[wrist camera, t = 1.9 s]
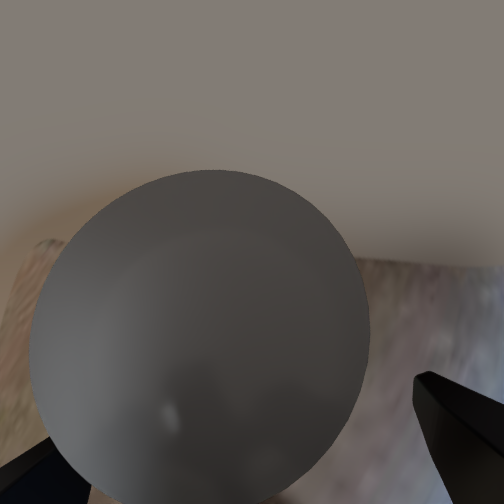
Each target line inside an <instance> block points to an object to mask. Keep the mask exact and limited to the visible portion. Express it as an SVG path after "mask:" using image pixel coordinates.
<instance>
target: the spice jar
mask: <svg viewBox="0 0 504 504" xmlns="http://www.w3.org/2000/svg"><path fill="white" fill-rule="evenodd" d="M369 343H370V321H369V307H368V302H367V297H366V293H365V288H364V284H363V280H362V277H361V275H360V272H359V269H358V267H357V264H356V262H355V259H354V257H353V255H352V254H351V252H350V250H349V248H348V246H347V245H346V243H345V241H344V240H343V238H342V237H341V235H340V234H339V233H338V231H337V230H336V229H335V228H334V226H333V225H332V224H331V222H330V221H329V220H328V219H327V218H326V217H325V216H324V215H323V214H322V213H321V212H320V211H319V210H318V209H317V208H316V207H315V206H313V205H312V204H311V203H310V202H308V201H307V200H305V199H304V198H303V197H301V196H300V195H298V194H297V193H295V192H294V191H291V190H290V189H288V188H286V187H284V186H282V185H280V184H278V183H276V182H273V181H271V180H268V179H265V178H262V177H259V176H256V175H251V174H247V173H242V172H236V171H226V170H200V171H192V172H184V173H179V174H175V175H171V176H167V177H163V178H160V179H157V180H155V181H152V182H149V183H146V184H144V185H142V186H140V187H138V188H135V189H134V190H131V191H129V192H128V193H126V194H124V195H123V196H121V197H119V198H118V199H116V200H114V201H113V202H111V203H110V204H109V205H107V206H106V207H105V208H103V209H102V210H101V211H99V212H98V213H97V214H96V215H95V216H94V217H92V218H91V219H90V220H89V221H88V222H87V223H86V224H85V225H84V226H83V227H82V228H81V229H80V230H79V231H78V232H77V233H76V234H75V235H74V237H73V238H72V239H71V241H70V242H69V243H68V244H67V246H66V247H65V248H64V250H63V251H62V252H61V254H60V256H59V257H58V259H57V260H56V262H55V264H54V265H53V267H52V269H51V271H50V273H49V275H48V277H47V279H46V281H45V283H44V285H43V288H42V290H41V293H40V296H39V298H38V301H37V305H36V309H35V312H34V316H33V321H32V327H31V333H30V344H29V367H30V378H31V384H32V389H33V394H34V398H35V401H36V405H37V408H38V411H39V414H40V417H41V419H42V421H43V423H44V426H45V428H46V430H47V432H48V434H49V436H50V437H51V439H52V441H53V442H54V444H55V445H56V447H57V449H58V450H59V452H60V453H61V454H62V455H63V457H64V458H65V459H66V460H67V462H68V463H69V464H70V465H71V466H72V468H74V469H75V470H76V471H77V472H78V473H79V474H80V475H81V476H82V477H83V478H84V479H85V480H86V481H88V482H89V483H90V484H91V485H93V486H94V487H96V488H97V489H99V490H100V491H101V492H103V493H104V494H106V495H107V496H109V497H111V498H113V499H115V500H117V501H119V502H121V503H123V504H258V503H261V502H263V501H264V500H266V499H268V498H270V497H272V496H274V495H275V494H277V493H279V492H281V491H282V490H284V489H286V488H287V487H289V486H290V485H291V484H293V483H294V482H295V481H296V480H298V479H299V478H300V477H301V476H303V475H304V474H305V473H306V472H308V471H309V470H310V469H311V468H312V467H313V466H314V465H315V464H316V463H317V462H318V460H319V459H320V458H321V457H322V456H323V455H324V454H325V453H326V451H327V450H328V449H329V448H330V447H331V446H332V444H333V443H334V441H335V440H336V438H337V437H338V435H339V433H340V432H341V430H342V429H343V427H344V426H345V424H346V422H347V421H348V419H349V417H350V414H351V412H352V410H353V408H354V405H355V403H356V401H357V398H358V396H359V393H360V391H361V387H362V383H363V379H364V375H365V371H366V367H367V363H368V354H369Z"/></svg>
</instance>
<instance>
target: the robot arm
mask: <svg viewBox="0 0 504 504" xmlns="http://www.w3.org/2000/svg"><path fill="white" fill-rule="evenodd" d="M412 401H413V407H414V410H415V412H416V415H417V418H418V421H419V424H420V426H421V429H422V432H423V435H424V438H425V441H426V444H427V447H428V450H429V452H430V455H431V457H432V460H433V462H434V464H435V466H436V468H437V470H438V472H439V474H440V476H441V478H442V481H443V483H444V485H445V487H446V489H447V491H448V494H449V496H450V498H451V500H452V502H453V504H504V404H502V403H500V402H497V401H495V400H493V399H491V398H488V397H486V396H484V395H482V394H479V393H477V392H475V391H473V390H471V389H469V388H466V387H464V386H462V385H460V384H458V383H455V382H453V381H451V380H449V379H447V378H445V377H443V376H440V375H438V374H436V373H434V372H432V371H426V372H424V373H421V374H418V375H416V376H415V377H414V382H413V398H412ZM90 491H91V484H90V483H89V482H88V481H86V480H85V479H84V478H83V477H82V476H81V475H80V474H79V473H78V472H77V471H76V470H75V469H74V468H72V466H71V465H70V464H69V463H68V462H67V460H66V459H65V458H64V457H63V455H62V454H61V453H60V452H59V450H58V449H57V447H56V445H55V444H54V442H53V441H52V439H51V437H50V436H49V437H48V438H46V439H45V440H43V441H42V442H40V443H39V444H37V445H36V446H34V447H32V448H31V449H29V450H28V451H26V452H25V453H23V454H21V455H20V456H18V457H17V458H15V459H13V460H12V461H10V462H9V463H7V464H5V465H4V466H2V467H1V468H0V504H87V503H88V499H89V495H90Z"/></svg>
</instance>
